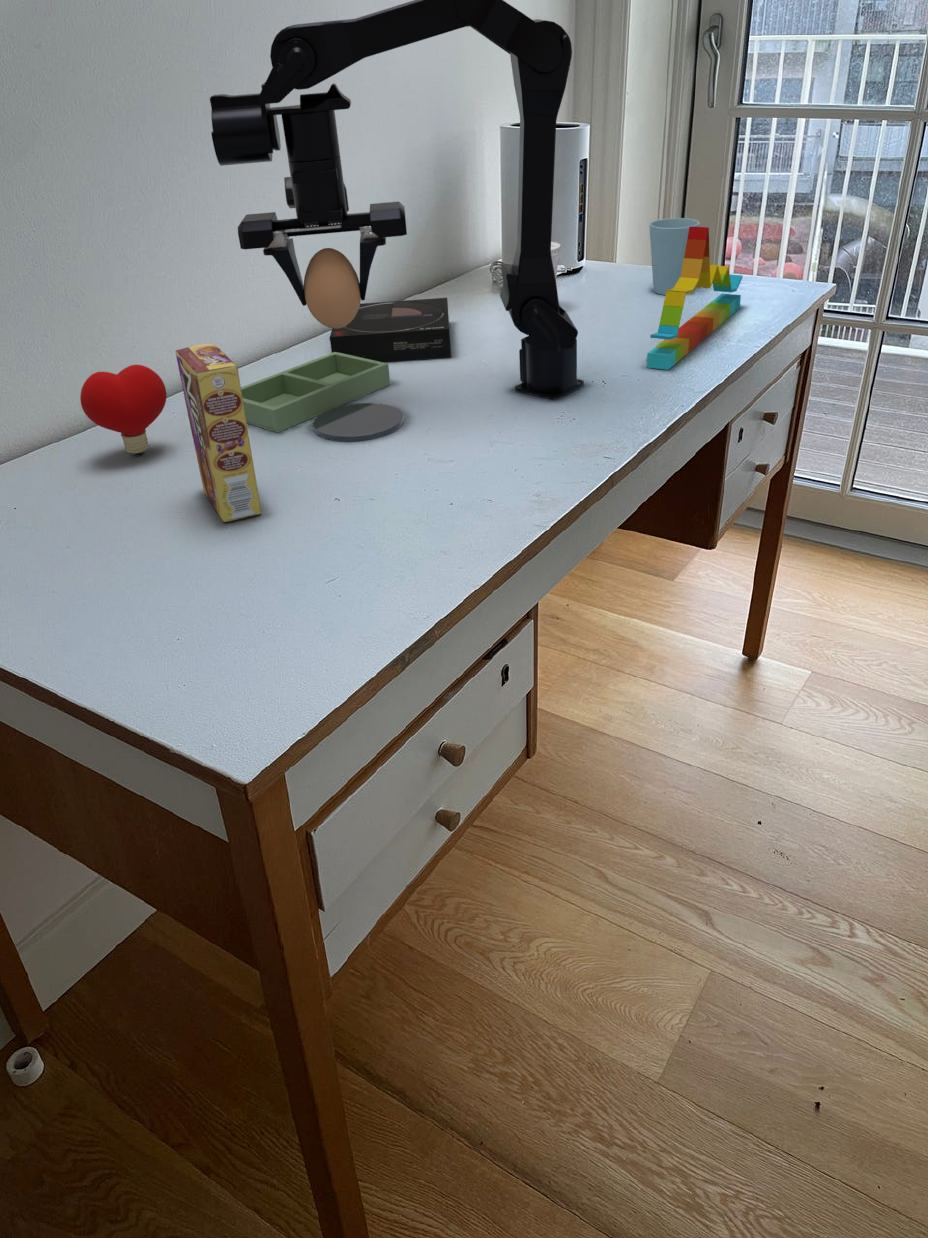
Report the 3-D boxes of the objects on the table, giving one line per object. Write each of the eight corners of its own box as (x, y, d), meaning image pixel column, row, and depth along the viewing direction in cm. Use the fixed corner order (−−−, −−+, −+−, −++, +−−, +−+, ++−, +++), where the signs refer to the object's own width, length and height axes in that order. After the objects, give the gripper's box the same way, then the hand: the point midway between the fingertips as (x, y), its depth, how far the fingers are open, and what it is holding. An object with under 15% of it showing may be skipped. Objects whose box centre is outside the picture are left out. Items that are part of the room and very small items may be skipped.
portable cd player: (449, 322, 150) (447, 296, 148) (451, 357, 136) (449, 328, 134) (342, 330, 151) (339, 303, 148) (333, 365, 136) (329, 336, 134)
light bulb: (103, 474, 109) (79, 387, 103) (92, 453, 114) (68, 370, 109) (186, 454, 112) (166, 369, 107) (171, 435, 117) (152, 353, 112)
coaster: (422, 418, 117) (421, 413, 117) (358, 448, 111) (357, 443, 110) (359, 401, 123) (358, 397, 123) (295, 429, 117) (294, 424, 116)
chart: (718, 305, 149) (727, 200, 141) (739, 307, 148) (749, 201, 140) (644, 367, 128) (649, 247, 120) (668, 370, 126) (674, 248, 118)
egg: (298, 332, 117) (285, 252, 112) (333, 317, 121) (322, 240, 116) (341, 338, 113) (330, 256, 108) (376, 322, 118) (366, 243, 113)
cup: (637, 293, 158) (640, 225, 152) (662, 282, 163) (665, 216, 157) (678, 299, 154) (683, 229, 148) (703, 288, 158) (708, 220, 153)
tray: (390, 384, 128) (388, 363, 127) (277, 432, 116) (273, 410, 115) (337, 371, 134) (334, 351, 132) (224, 416, 122) (220, 394, 120)
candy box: (266, 514, 98) (238, 364, 90) (224, 524, 96) (191, 373, 88) (242, 482, 105) (214, 340, 96) (203, 492, 103) (171, 348, 95)
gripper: (398, 141, 114) (411, 278, 123) (238, 154, 114) (262, 291, 122) (399, 154, 105) (413, 302, 113) (225, 169, 104) (252, 316, 113)
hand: (334, 302), depth 116 cm, fingers closed on egg, 6 cm apart
